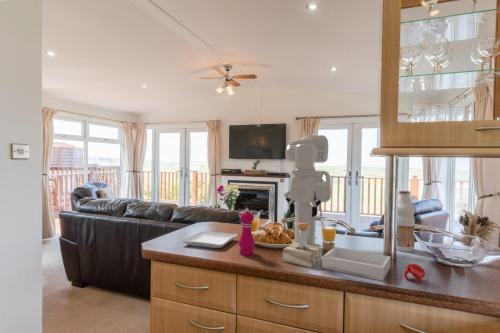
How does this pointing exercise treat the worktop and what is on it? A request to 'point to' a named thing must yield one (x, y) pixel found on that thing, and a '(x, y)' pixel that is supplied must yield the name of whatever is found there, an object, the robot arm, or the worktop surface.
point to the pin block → (302, 255)
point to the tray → (357, 263)
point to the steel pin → (302, 235)
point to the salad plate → (209, 239)
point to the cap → (414, 272)
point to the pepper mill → (246, 234)
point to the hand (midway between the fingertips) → (303, 215)
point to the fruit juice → (405, 223)
